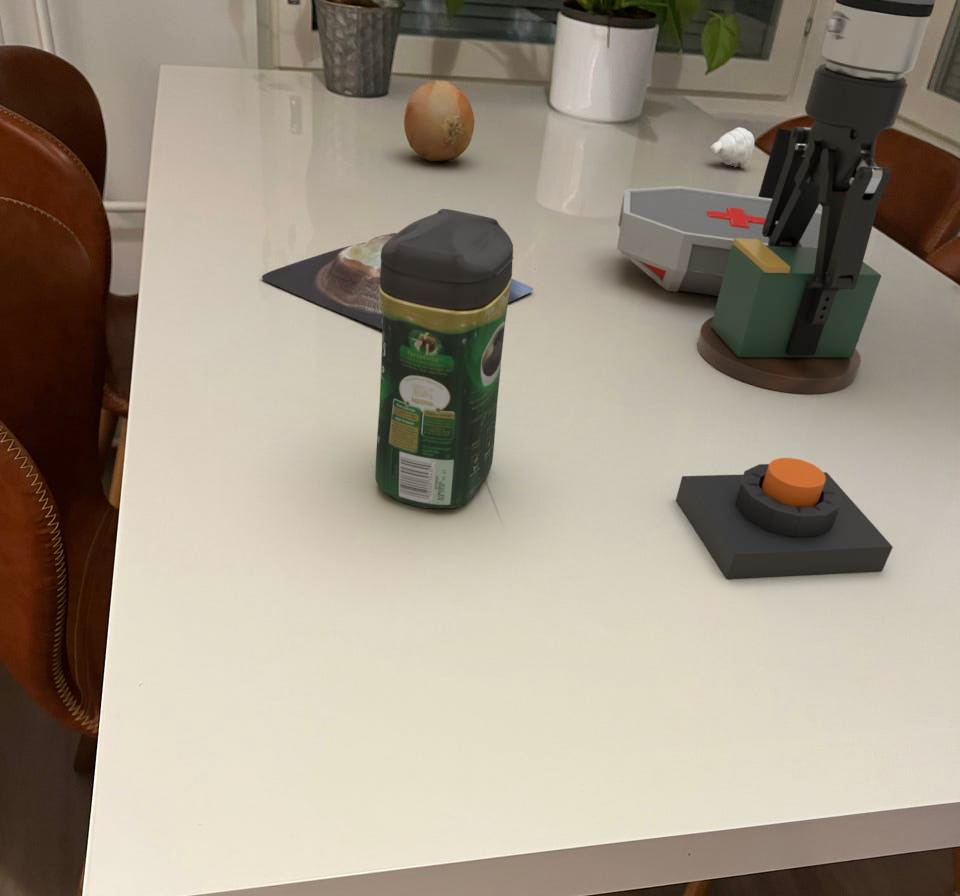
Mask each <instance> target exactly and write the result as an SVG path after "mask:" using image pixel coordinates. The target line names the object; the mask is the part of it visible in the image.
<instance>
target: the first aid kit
mask: <svg viewBox="0 0 960 896" xmlns="http://www.w3.org/2000/svg"><path fill="white" fill-rule="evenodd" d="M771 202H772V199H769V198H762V197H758V196H755V195H746V194H741V193H740V194H739V193H732V192H725V191H719V190H717V191H716V190H709V189H703V188H695V187H688V186H681V185H675V186H657V187H656V186H655V187H642V188H640V187H639V188H625V189H624V191H623V195H622V202H621V207H620V211H619V218H618V223H617V226H618V227H619V234H618V240H617V245H616V249H617V250H618V251H619V252H620V253H621V254H622V255H624V257H626V258H627V259H628V260H630V261H631V262H632V263H633V264H635V266H637V267H638V268H639V269H640V270H641V271H642V272H644V273H645V274H646V275H647V276H649V277H650V278H651V279H652V280H653V281H655V282H656V283H657V284H658V285H659V286H660V287H662V288H663V289H664V290H665V291H666V290H667V291H666V292H671V291H673V292H672V293H678V292H679V291H680V292H685V293H694V294H701V295H708V296H716V297H718V296H719V292H720V289H721V285H722V281H723V277H724V273H725V269H726V265H727V261H728V257H729V253H730V249H731V246H732V245H733V243H734V239H735V238H743V239H758V240H759V241H761V242H762V243H763V244H764V245H765V246H768V242H769V238H768V237H764V236H763V235H762V229H763V226H764V223H765V220H766V217H767V214H768V211H769V208H770V205H771ZM821 214H822V211H821V210H817V209H816V211H815V213H814V215H813V217H812V219H811V221H810V223H809V224H808V226H807V228H806V230H805V232H804V234H803V236H802V238H801V240H800V241H799V242H800V243H801V246H802V247H814V248H817V246H818V238H819V230H820V222H821ZM777 223H778V221H776V223H775V224H777Z"/></svg>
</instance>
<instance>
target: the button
mask: <svg viewBox="0 0 960 896" xmlns="http://www.w3.org/2000/svg"><path fill="white" fill-rule="evenodd" d="M768 464H769V466H768V469H767V472H766V475H765V478H764V481H763V484H762V490H763V492H764V493H765V494H766V495H768V496H770V497H771V498H773V499H775V500H777V501H779V502H781V503H784V504H788V505H792V506H796V507H806V506H814V505H815V504H816V503H817V502H818V500H819V497H820V495H821V492H822V489H823V487H824V484H825V481H826V477H825V474H824V473H823V472H824V471H823V470H822V469H821V468H820V467H818V466H816V465H814V464H813V463H812V462H809V461H806V460H804V459H803V460H802V459H800V458H795V457H780V458H779V457H778V458H776V459H774V460H771V461H770V462H769V463H768Z"/></svg>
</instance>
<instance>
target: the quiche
mask: <svg viewBox="0 0 960 896" xmlns="http://www.w3.org/2000/svg"><path fill="white" fill-rule="evenodd" d="M397 233H398V232H393V233H392V232H391V233H388V234H383V235H379V236H375V237H373V238H371V239H370V240H368V241H366V242H362V243H357V244H352V245H348V246H344V247H341V248H337V249H334V250H331V251H328V252H325V253H321V254H318V255H315V256H311V257H308V258H305V259H302V260H299V261H296V262H293V263H291V264H287V265H284V266H282V267H279V268H276V269H273V270H270V271H267V272H266V273H263V274H262V276H261V278H262V280H264V281H266V282H267V283H269V284H272V285H274V286H276V287H278V288H280V289H283V290H284V291H287V292H290V293H292V294H294V295H296V296H299V297H301V298H302V299H305V300H308V301H311V302H312V303H314V304H318V305H320V306H322V307H325V308H327V309H329V310H332V311H334V312H337V313H339V314H342V315H345V316H347V317H349V318H352V319H354V320H357V321H359V322H361V323H365V324H367V325H370V326H373V327H375V328H377V329H380V330H382V311H381V302H380V294H379V285H380V269H381V250H382V247H383V246H384V244H385V243H386V242H388V241H389V240H390V239H391V238H392V237H393V236H394V235H396V234H397ZM533 291H534V288H533V287H532V286H530V285H528V284H526V283H523V282H521V281H518V280H516V279H514V278H511V285H510V293H509V299H508V304H509V303H512V302H513V301H516V300H518V299H520V298H521V297H523V296H526V295H528V294H530V293H531V292H533Z"/></svg>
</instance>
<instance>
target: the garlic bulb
mask: <svg viewBox="0 0 960 896" xmlns="http://www.w3.org/2000/svg"><path fill="white" fill-rule="evenodd" d="M717 140H718V141H716V142H714V143H713V144H712V145H711V146H710V152H711V153H712V154H713V155H714V156H716V157H719V158H720V159H721V160H722V162H723V163H724V165H726V166H729V165H731V166H734V167H733V168H737V167H739V166H740V168H743V167H745V166H746V165H748V162H749V161H750V160H751V158H752V156H753V154H754V151H755V138H754V135H753V133H752V132H751V131H750V130H748V129H746V128H744V127H736V128H734V129H732V130H731V131H728V132H726V133H725V134H723V135H722V136H720V138H719V139H717ZM737 165H738V166H737ZM731 166H730V167H731Z"/></svg>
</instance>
